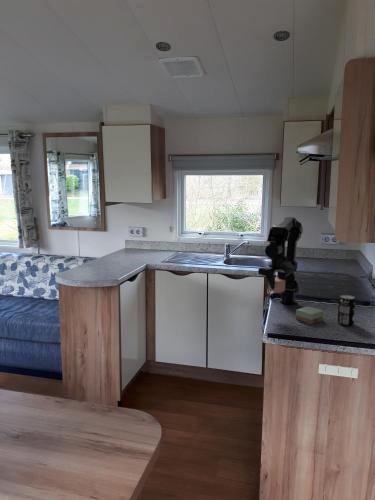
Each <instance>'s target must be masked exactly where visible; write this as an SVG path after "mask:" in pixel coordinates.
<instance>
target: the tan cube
mask: <svg viewBox="0 0 375 500" xmlns="http://www.w3.org/2000/svg"><path fill="white" fill-rule="evenodd" d="M268 291H270V292H273V293H275V294H279V293H282V292H283V291H285V280H283V279H279V278H278V277H276V278H275V285H274V289H271V287H270V284H269V283H268Z"/></svg>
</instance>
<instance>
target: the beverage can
mask: <svg viewBox="0 0 375 500" xmlns="http://www.w3.org/2000/svg"><path fill="white" fill-rule="evenodd" d="M356 302H357V301H356V299H355V296H353V295H350V294H342V295H341V294H340V297H339V299H338V306H337V309H338V310H337V320H336V321H337V323H338V324H339V325H340V326H344V327H351V326H353V325H354V323H355V314H356V304H357V303H356Z"/></svg>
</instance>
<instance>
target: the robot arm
mask: <svg viewBox="0 0 375 500" xmlns="http://www.w3.org/2000/svg"><path fill="white" fill-rule="evenodd" d="M303 230H304V229H303V225H302V223H301V222H300V221H298V220H297V218H296V217H294V216H293V217H291V216H289V217H288V216H286V217H284V219H283V221H281V223H279V224H274V225H272V226H271V227H270V229H269V232H268V237H267V242H268V243H269V244H268V245H267V246H266V247H265V249H264V251H265V255H266V256H267V257H268V258H269V259H270V260H271V262H270V263H271V264H269V265H268V267H267V266H264V267H263V266H262V267H260V268H258V271H257V274H258V275H260V276H265V278H266V280H267V283H268V285H269V284H270V287H271V289H274V285H275V278H279V279H283V280H285V291H283V292H281V293H282V294H281V300H279V303H282V304H284V305H287V306H291V305H296V304H298V301H296V296H297V295H296V294H297V293H299V292H300V285H299V282H298V276H297V274H296V272H297V270H298V261H296V259H297V258H296V257H297V246H298V245H297V244H298V242H299V241H300V240H301V238H302V235H303V232H304V231H303ZM286 243H287V244H286ZM276 273H277V274H276Z"/></svg>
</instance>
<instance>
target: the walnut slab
mask: <svg viewBox="0 0 375 500" xmlns="http://www.w3.org/2000/svg"><path fill="white" fill-rule="evenodd" d="M295 320H298V321H300V322H303V323H306V324H308V325H313V324H317V323H319V322H322V321H323V320H324V316H322V317H319V318H316V319H313V320H310V319H307V318H304V317H300V316H297V315H296V314H295Z"/></svg>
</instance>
